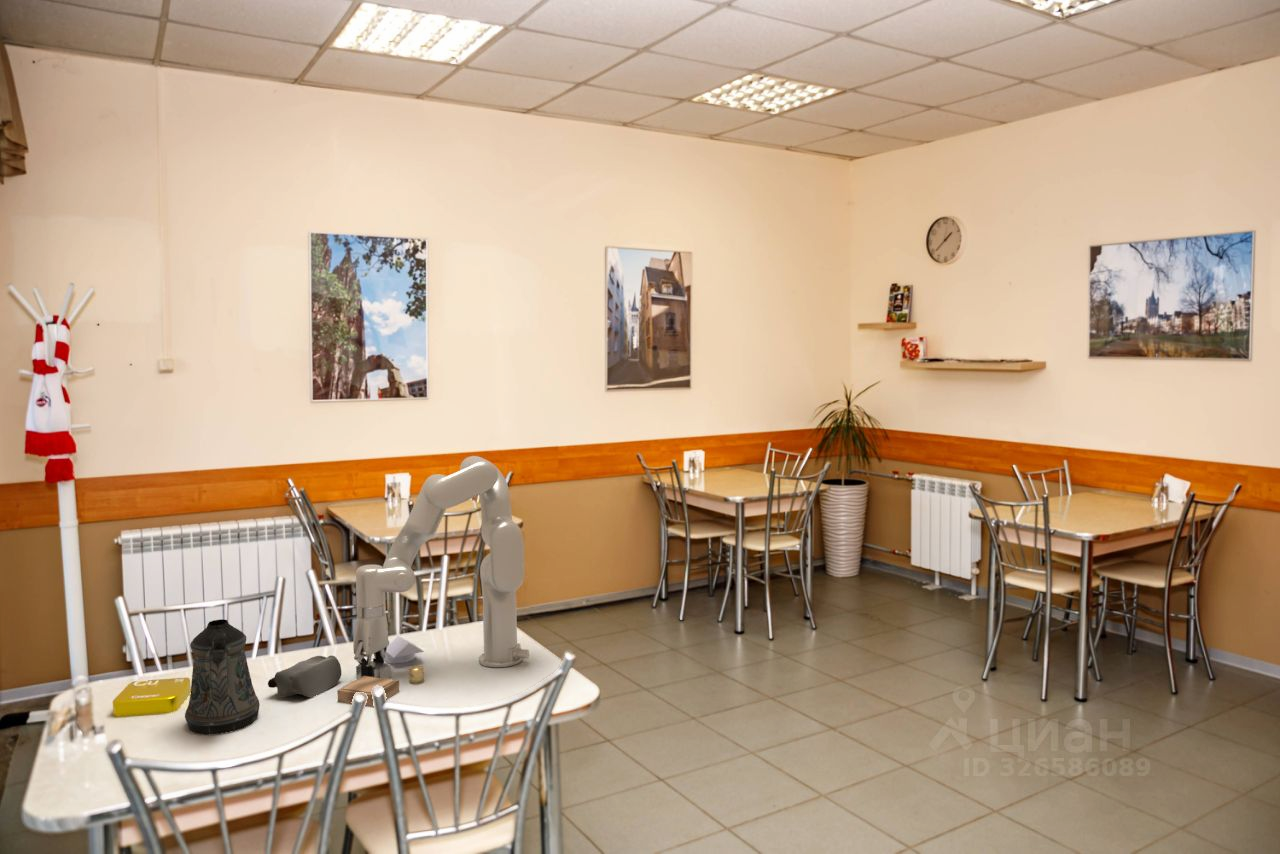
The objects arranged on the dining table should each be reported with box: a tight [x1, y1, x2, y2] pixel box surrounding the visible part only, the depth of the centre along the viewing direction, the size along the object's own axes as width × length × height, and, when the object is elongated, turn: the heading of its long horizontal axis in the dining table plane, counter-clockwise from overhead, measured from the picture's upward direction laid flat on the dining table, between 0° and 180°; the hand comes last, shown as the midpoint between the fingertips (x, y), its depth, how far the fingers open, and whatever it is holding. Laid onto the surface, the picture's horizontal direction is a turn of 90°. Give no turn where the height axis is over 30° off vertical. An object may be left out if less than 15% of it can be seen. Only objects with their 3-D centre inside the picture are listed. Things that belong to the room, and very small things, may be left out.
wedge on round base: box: [384, 635, 425, 664], centre depth 268 cm, size 9×7×13 cm
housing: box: [355, 660, 392, 680], centre depth 252 cm, size 8×4×4 cm, turn 67°
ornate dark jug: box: [184, 619, 261, 736], centre depth 223 cm, size 16×19×25 cm
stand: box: [337, 676, 400, 708], centre depth 240 cm, size 11×11×3 cm
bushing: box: [408, 664, 425, 686], centre depth 250 cm, size 4×4×4 cm
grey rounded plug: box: [267, 655, 342, 698], centre depth 246 cm, size 18×11×8 cm, turn 158°
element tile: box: [112, 677, 191, 718], centre depth 237 cm, size 15×15×5 cm
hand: (372, 675), depth 252 cm, fingers closed on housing, 4 cm apart
